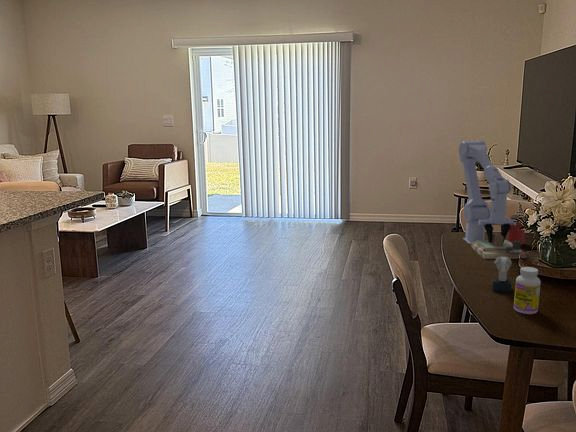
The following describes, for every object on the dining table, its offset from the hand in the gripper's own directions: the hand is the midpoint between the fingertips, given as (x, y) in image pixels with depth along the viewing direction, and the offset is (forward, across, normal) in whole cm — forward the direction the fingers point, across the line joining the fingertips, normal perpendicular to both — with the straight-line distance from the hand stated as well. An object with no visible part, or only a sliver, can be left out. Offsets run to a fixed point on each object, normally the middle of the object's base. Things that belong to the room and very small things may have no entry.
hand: (496, 242), depth 222 cm
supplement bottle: (+4, -12, -64) cm, 65 cm away
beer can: (+4, +12, +11) cm, 17 cm away
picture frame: (+4, 0, -2) cm, 4 cm away
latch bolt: (0, +4, -11) cm, 12 cm away
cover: (+2, 0, 0) cm, 2 cm away
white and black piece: (+4, -13, -46) cm, 48 cm away
